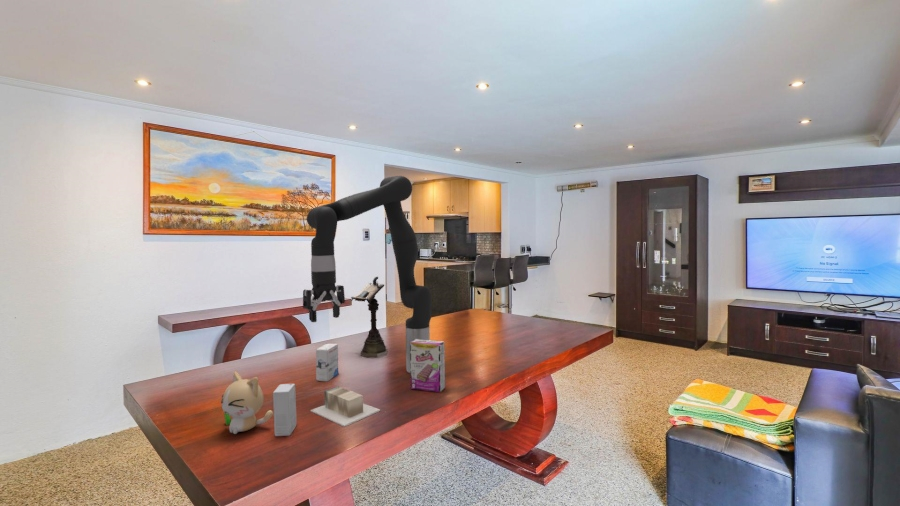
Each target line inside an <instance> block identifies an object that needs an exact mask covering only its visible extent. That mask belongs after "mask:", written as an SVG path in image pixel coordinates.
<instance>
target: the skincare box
mask: <svg viewBox="0 0 900 506" xmlns="http://www.w3.org/2000/svg"><path fill="white" fill-rule="evenodd" d="M272 399H273V400H272V401H273V403H272V404H273V424H274V425H273V426H274V428H273V429H274V430H273V431H274V436H275V437H283V436H287V437H288V436H291V435H292V433H293V431H294V430H295V429H296V427H297V425H298V424H297V401H296V399H297V397H296V384H295V383H280V384H279V385H278V386H277V387H276V389H274V391H273V392H272Z"/></svg>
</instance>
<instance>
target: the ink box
mask: <svg viewBox="0 0 900 506" xmlns="http://www.w3.org/2000/svg"><path fill="white" fill-rule="evenodd" d="M315 365H316V366H315V367H316V368H315V371H316V372H315V380H316V381H320V382H329V381H330V380H332V379H333V378H334V377H336V376H338V374H339V344H338V343H326V344H323V345H321V346H320V347H318V348H316V349H315Z"/></svg>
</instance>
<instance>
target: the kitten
mask: <svg viewBox="0 0 900 506" xmlns="http://www.w3.org/2000/svg"><path fill="white" fill-rule="evenodd" d="M232 377H233V379H232V383H230V384H229V386H227V387H226V389H225V391H224V392H223V394H222V395H221V400H220V403H221V407H222V411H223V412H224V420H225V425H226V426H228V425H229V426H228V429H229V433H231V434H234V435H237V434H238V433H240V432H246V431H249V430H252V429H253V428H254V427H255V426H258V425H263V424H264V423H266V422H268V421H269V420H270V419H272V418H273V417H274V410H271V409H270V410H268V411H267V410H266V411H267V412H266V413H265V415H264V417H262V418H259V419H257V417H256V414H257V413H258V412H259V410H260V409H261V408H262V406H263V403H264V393H263V390H262V388H261V386H260V385H259V379H258V377H257V376H255V377H252V378H251V379H247V378H245V379H243V377H242V376H241V374H239V373H238V372H237V371H234V372H233V375H232ZM231 417H232V419H231Z"/></svg>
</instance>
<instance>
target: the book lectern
mask: <svg viewBox="0 0 900 506" xmlns="http://www.w3.org/2000/svg"><path fill="white" fill-rule="evenodd" d="M377 280H379V276H374V278H373V279H372V282H368V283H367V284H366V285H365V286H364V288H363V289H362V290H361V291H359V293H357V295H355V296H351V297H350V298H351V300H350V302H353V300H354V301H358V302H365V301H367V303H368V304H367V306H368V311H370V320H369V321H370V330H369V331H368V335H367V337H366V339H365V341H363V346H362V349H361V350H360V356H361V357H364V358H373V359H374V358H380V357H384V356H387V354H388V348H387V346H386V344H385V340H384V339H383V337H382V336H381V333H380V330H379V329H378V328H377V320H378V319H377V311H378V310H379V305H380V304H379V301H378V300H377V298H376V295H377V294H378V293H379V292H380V291H381V290H382V289H383V288H384V286H385V283H379V281H377Z"/></svg>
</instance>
